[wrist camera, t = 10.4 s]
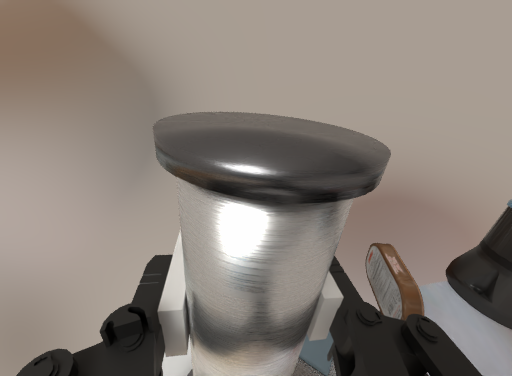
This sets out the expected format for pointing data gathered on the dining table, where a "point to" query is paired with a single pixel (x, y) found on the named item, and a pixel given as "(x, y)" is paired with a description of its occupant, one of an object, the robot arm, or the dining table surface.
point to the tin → (392, 283)
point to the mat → (317, 353)
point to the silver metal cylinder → (260, 228)
